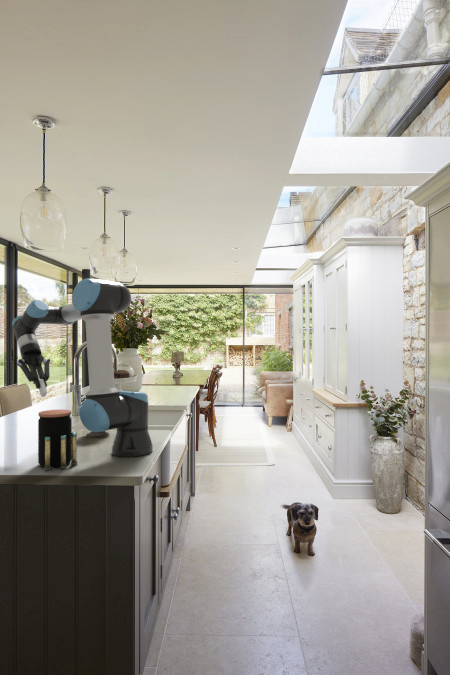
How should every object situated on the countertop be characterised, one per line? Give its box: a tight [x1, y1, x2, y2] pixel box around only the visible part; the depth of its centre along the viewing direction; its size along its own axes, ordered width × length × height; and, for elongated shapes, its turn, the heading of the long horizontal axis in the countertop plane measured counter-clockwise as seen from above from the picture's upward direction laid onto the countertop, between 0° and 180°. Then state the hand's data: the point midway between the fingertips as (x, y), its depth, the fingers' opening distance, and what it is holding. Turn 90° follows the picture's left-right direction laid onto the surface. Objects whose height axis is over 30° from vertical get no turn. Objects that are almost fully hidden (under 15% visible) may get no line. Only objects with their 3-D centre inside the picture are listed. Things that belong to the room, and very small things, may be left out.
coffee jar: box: [37, 409, 72, 469], centre depth 150 cm, size 11×11×18 cm
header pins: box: [44, 431, 78, 472], centre depth 145 cm, size 4×11×11 cm, turn 135°
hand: (44, 394), depth 167 cm, fingers closed
